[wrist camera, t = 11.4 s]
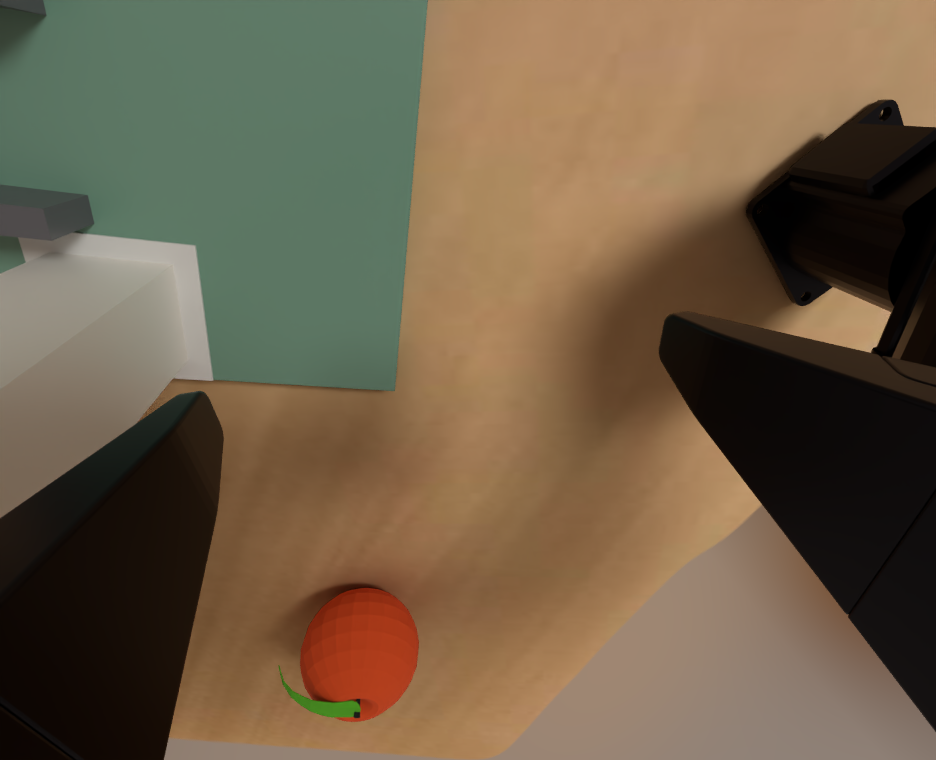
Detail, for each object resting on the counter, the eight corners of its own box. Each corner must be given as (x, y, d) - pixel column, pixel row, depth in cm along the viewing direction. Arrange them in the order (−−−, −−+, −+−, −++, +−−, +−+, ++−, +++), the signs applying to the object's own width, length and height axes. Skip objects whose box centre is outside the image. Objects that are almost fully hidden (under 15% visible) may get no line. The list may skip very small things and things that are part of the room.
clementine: (290, 628, 32) (264, 751, 26) (296, 559, 29) (269, 681, 23) (407, 631, 34) (409, 747, 28) (426, 566, 31) (432, 681, 25)
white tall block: (172, 264, 18) (-214, 544, 7) (187, 360, 21) (-92, 701, 9) (49, 252, 18) (-620, 543, 6) (78, 352, 20) (-384, 713, 8)
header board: (444, -215, 14) (456, -302, 11) (395, 380, 24) (394, 421, 21) (-328, -439, 11) (-611, -649, 8) (-18, 353, 20) (-90, 396, 17)
